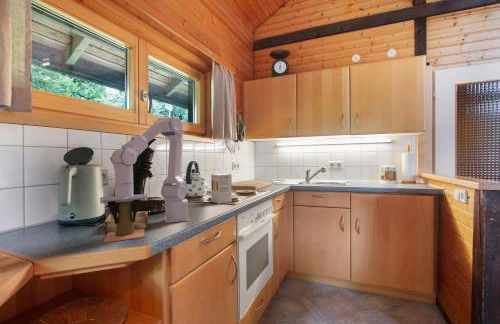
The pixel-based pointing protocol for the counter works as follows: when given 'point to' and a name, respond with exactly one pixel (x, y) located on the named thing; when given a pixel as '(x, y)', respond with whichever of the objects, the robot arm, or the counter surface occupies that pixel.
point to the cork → (124, 219)
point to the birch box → (139, 223)
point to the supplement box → (221, 188)
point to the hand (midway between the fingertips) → (125, 222)
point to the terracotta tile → (112, 237)
